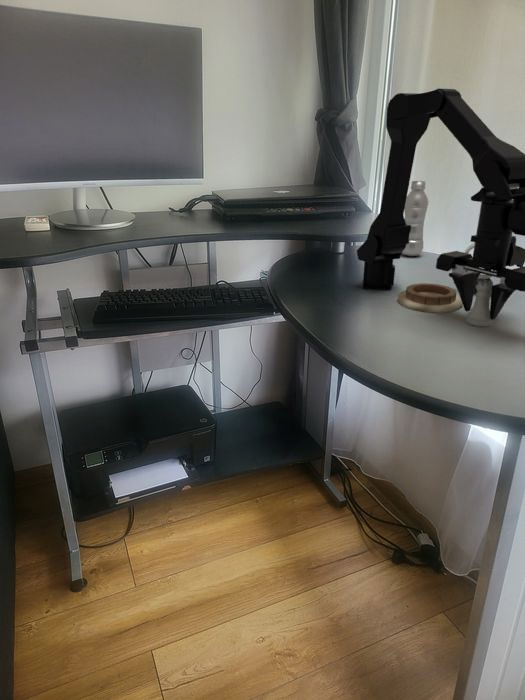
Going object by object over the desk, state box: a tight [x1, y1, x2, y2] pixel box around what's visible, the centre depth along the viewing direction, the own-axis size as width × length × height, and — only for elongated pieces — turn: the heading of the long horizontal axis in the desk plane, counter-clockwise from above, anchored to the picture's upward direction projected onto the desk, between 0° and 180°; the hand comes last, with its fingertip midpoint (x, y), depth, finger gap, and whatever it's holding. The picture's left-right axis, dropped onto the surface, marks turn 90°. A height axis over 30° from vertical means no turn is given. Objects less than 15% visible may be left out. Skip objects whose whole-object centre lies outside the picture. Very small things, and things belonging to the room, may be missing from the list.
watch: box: [464, 242, 497, 296], centre depth 112 cm, size 6×8×11 cm
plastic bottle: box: [401, 180, 429, 257], centre depth 141 cm, size 6×7×20 cm
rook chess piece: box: [466, 280, 494, 328], centre depth 94 cm, size 4×4×8 cm
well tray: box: [397, 282, 463, 314], centre depth 107 cm, size 13×13×3 cm
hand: (479, 314), depth 95 cm, fingers open, 5 cm apart
